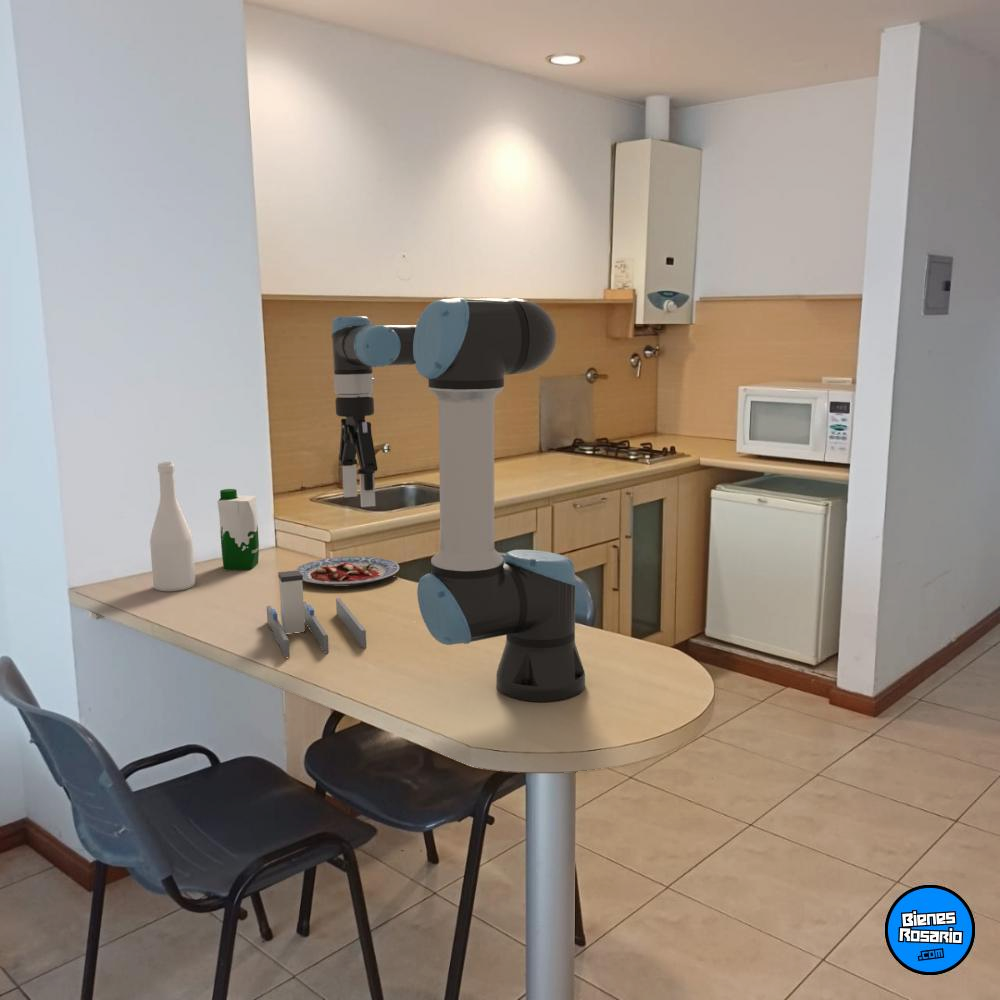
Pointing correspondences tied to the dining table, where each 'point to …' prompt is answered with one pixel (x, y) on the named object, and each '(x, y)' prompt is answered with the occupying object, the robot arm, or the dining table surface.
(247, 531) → the milk carton
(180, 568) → the wine bottle
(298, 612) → the block
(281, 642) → the grey upright slats
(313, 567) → the ceramic plate
